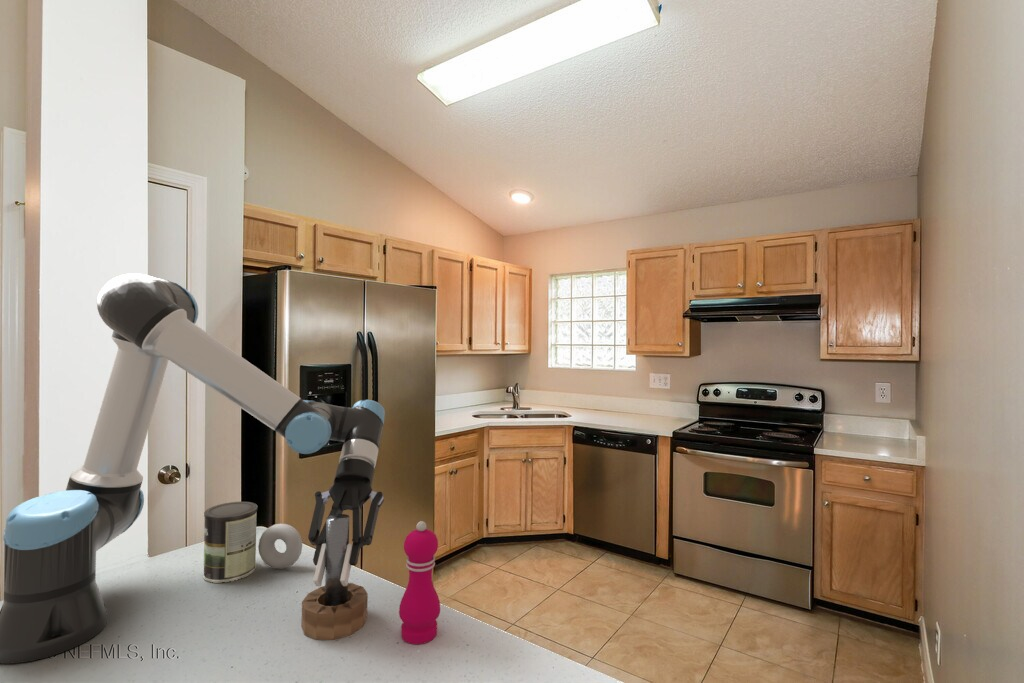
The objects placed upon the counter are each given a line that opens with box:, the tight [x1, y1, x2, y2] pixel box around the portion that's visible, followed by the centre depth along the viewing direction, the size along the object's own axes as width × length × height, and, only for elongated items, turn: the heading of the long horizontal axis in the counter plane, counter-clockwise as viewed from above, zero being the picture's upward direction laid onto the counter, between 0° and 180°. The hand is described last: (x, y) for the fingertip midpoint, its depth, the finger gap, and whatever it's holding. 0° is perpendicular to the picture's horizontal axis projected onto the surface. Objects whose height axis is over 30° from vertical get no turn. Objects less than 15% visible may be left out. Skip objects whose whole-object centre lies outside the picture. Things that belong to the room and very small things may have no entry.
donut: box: [258, 523, 303, 570], centre depth 113 cm, size 10×4×10 cm, turn 84°
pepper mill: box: [398, 520, 441, 645], centre depth 89 cm, size 7×7×20 cm
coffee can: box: [202, 501, 259, 584], centre depth 111 cm, size 10×10×14 cm
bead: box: [301, 582, 369, 641], centre depth 92 cm, size 11×11×4 cm
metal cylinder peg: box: [324, 513, 350, 606], centre depth 92 cm, size 4×4×16 cm
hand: (330, 583), depth 88 cm, fingers closed on metal cylinder peg, 4 cm apart
